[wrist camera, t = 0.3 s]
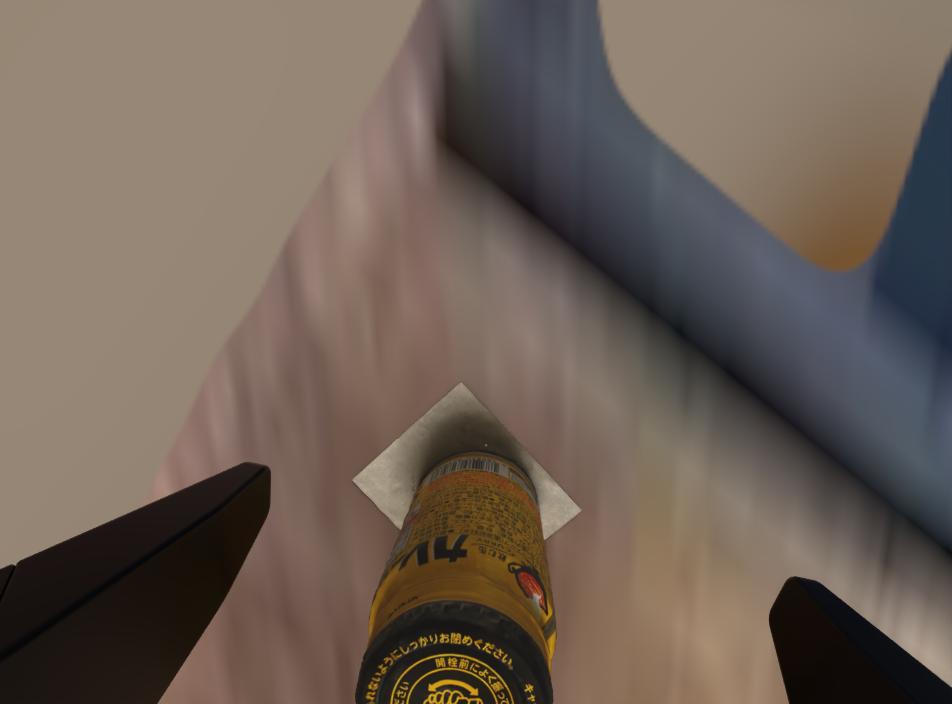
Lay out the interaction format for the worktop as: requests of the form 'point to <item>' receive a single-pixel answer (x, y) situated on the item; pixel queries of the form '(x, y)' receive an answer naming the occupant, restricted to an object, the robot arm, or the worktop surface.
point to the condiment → (462, 564)
